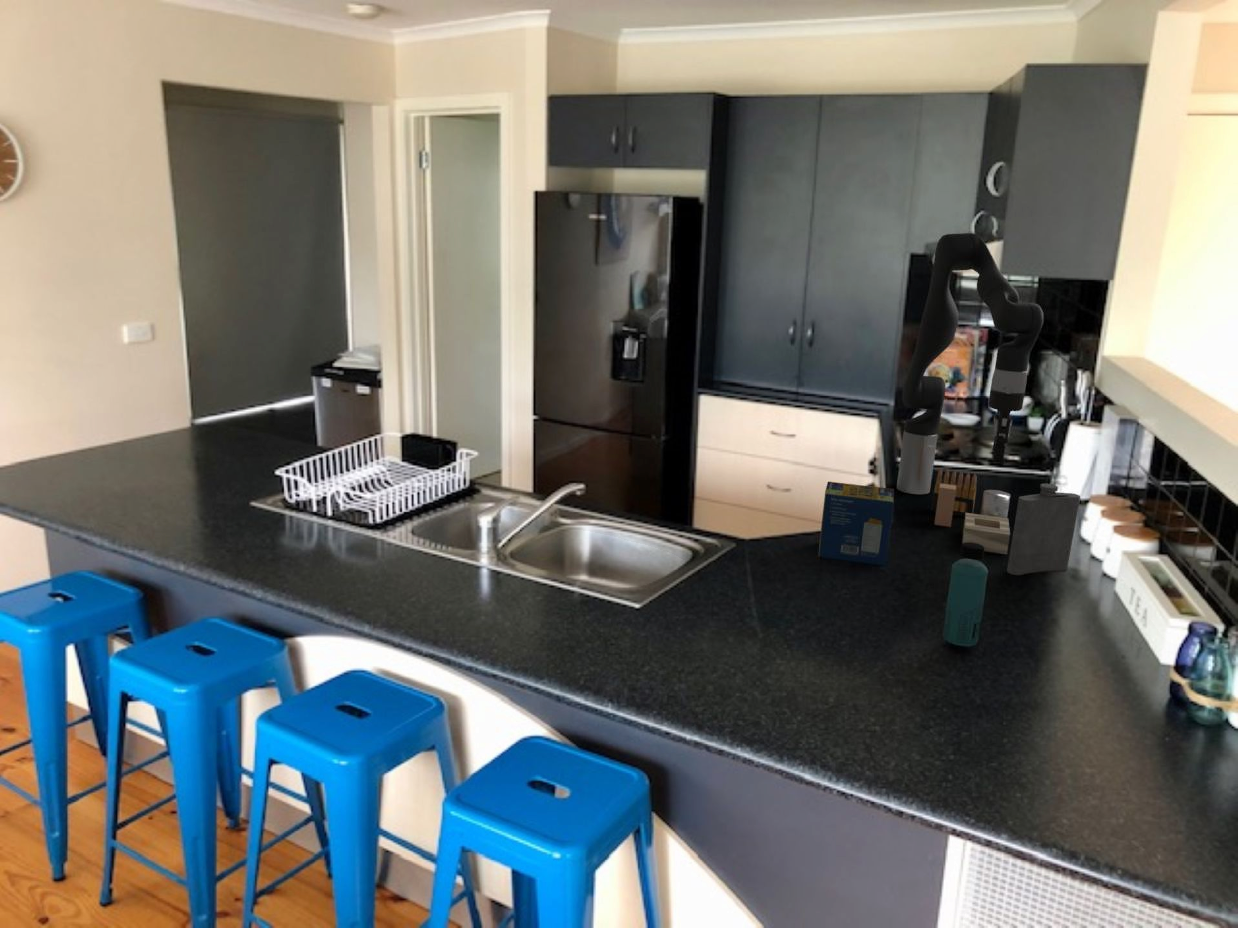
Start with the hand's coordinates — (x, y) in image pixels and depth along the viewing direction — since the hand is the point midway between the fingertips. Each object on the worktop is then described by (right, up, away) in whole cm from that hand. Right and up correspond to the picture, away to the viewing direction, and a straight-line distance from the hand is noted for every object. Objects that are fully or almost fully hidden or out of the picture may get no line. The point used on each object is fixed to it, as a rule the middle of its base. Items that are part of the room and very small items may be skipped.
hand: (997, 455), depth 227 cm
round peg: (+6, -18, +18) cm, 26 cm away
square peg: (-7, -17, +19) cm, 27 cm away
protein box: (-36, -23, -6) cm, 43 cm away
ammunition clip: (-1, -16, +28) cm, 32 cm away
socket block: (-1, -21, +6) cm, 22 cm away
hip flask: (+5, -26, -10) cm, 29 cm away
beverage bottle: (-27, -36, -51) cm, 68 cm away
